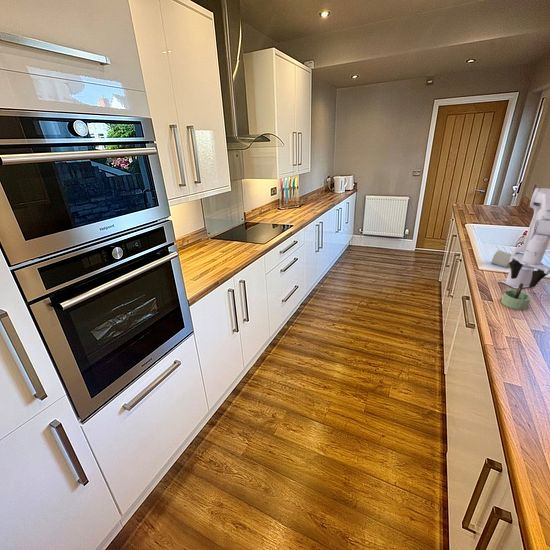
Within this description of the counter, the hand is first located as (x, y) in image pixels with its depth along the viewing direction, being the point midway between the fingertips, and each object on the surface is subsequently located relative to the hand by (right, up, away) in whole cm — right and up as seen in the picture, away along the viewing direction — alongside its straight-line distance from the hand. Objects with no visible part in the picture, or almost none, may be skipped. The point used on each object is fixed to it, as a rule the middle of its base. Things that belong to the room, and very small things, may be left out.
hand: (522, 282), depth 117 cm
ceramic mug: (+24, +8, +41) cm, 48 cm away
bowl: (0, -9, +5) cm, 10 cm away
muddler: (0, -9, +4) cm, 10 cm away
